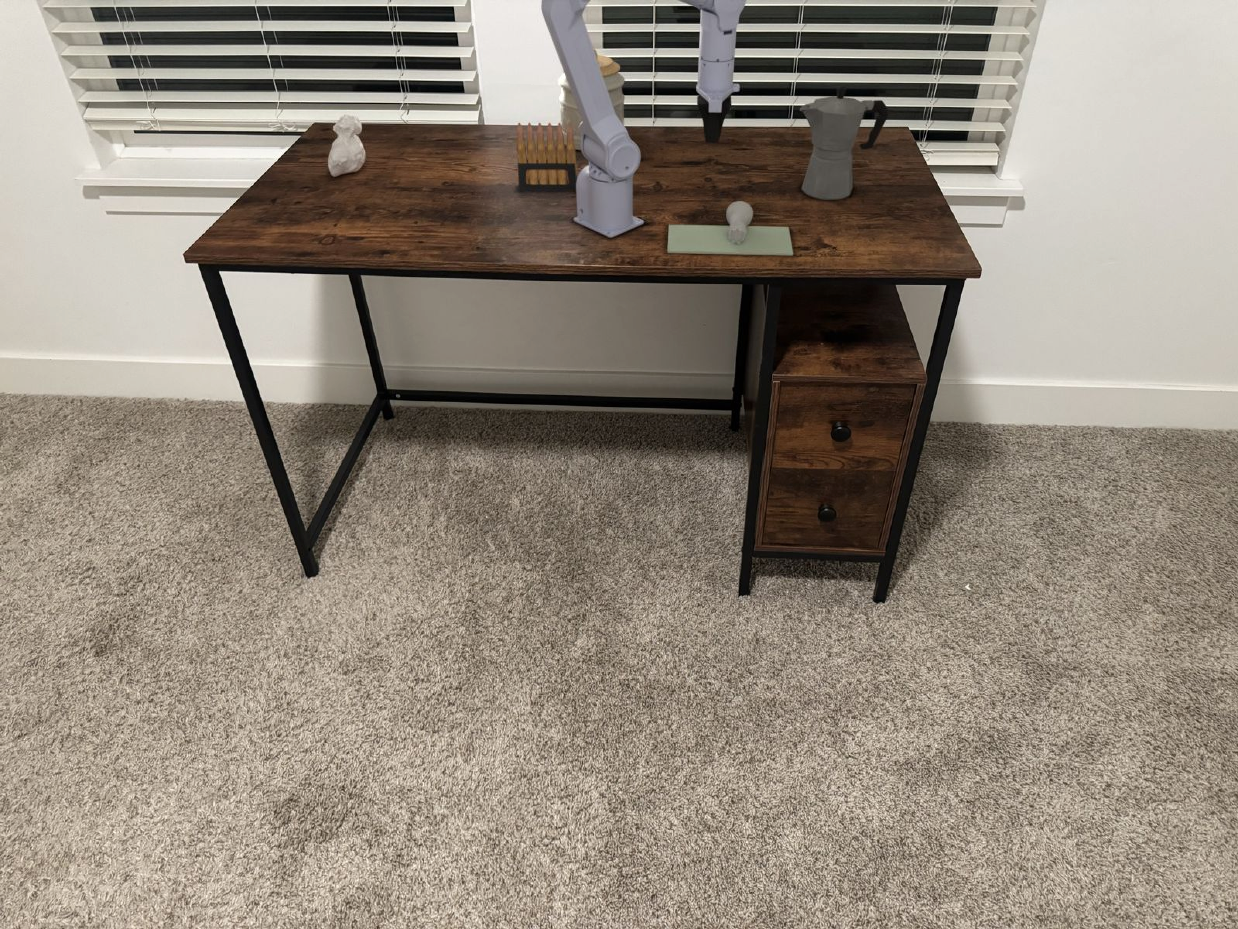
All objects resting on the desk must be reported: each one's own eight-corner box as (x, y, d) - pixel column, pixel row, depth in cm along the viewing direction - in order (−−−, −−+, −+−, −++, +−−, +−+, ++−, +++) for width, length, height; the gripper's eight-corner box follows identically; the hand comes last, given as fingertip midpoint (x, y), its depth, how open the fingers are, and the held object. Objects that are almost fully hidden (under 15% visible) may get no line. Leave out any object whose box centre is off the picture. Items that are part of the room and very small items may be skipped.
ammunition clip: (578, 186, 163) (575, 120, 155) (577, 190, 162) (574, 124, 154) (520, 186, 163) (514, 120, 156) (518, 190, 162) (513, 124, 154)
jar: (624, 152, 176) (624, 57, 164) (559, 152, 176) (554, 58, 164) (625, 129, 185) (624, 38, 174) (563, 129, 186) (558, 38, 174)
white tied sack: (344, 193, 167) (370, 146, 161) (307, 168, 165) (333, 120, 159) (362, 168, 176) (388, 123, 170) (327, 145, 174) (352, 98, 168)
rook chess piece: (751, 197, 146) (748, 222, 140) (754, 222, 149) (752, 247, 143) (724, 201, 147) (720, 226, 141) (728, 225, 150) (724, 250, 144)
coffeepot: (795, 201, 157) (808, 96, 145) (785, 180, 164) (797, 78, 152) (881, 199, 157) (901, 94, 145) (868, 178, 164) (886, 76, 153)
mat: (667, 252, 142) (667, 250, 142) (668, 226, 150) (668, 224, 150) (793, 255, 141) (793, 253, 141) (788, 228, 149) (788, 226, 148)
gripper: (743, 70, 137) (736, 157, 145) (740, 44, 148) (734, 126, 156) (697, 70, 137) (693, 157, 146) (697, 43, 148) (694, 126, 157)
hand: (711, 141), depth 151 cm, fingers closed
